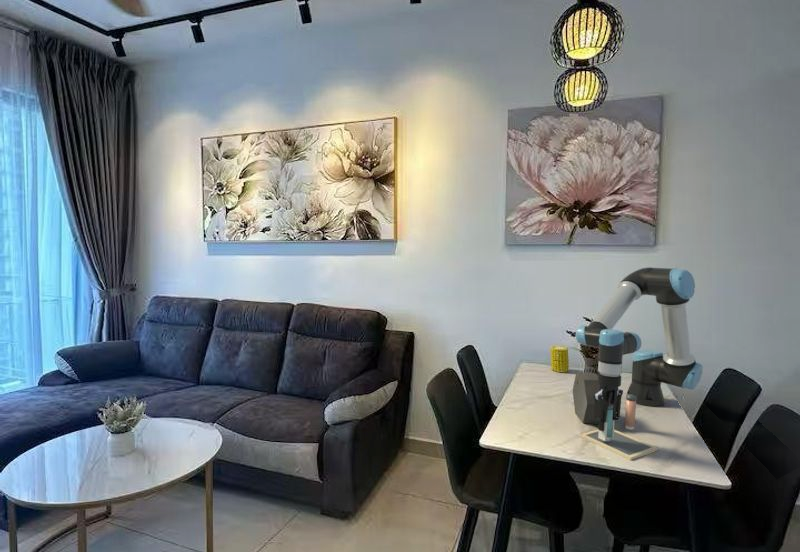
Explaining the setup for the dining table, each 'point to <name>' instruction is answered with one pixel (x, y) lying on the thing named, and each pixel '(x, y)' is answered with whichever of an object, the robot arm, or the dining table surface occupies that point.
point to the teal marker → (609, 421)
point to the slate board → (621, 444)
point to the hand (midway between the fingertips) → (605, 437)
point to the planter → (585, 396)
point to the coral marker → (630, 411)
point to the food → (559, 358)
